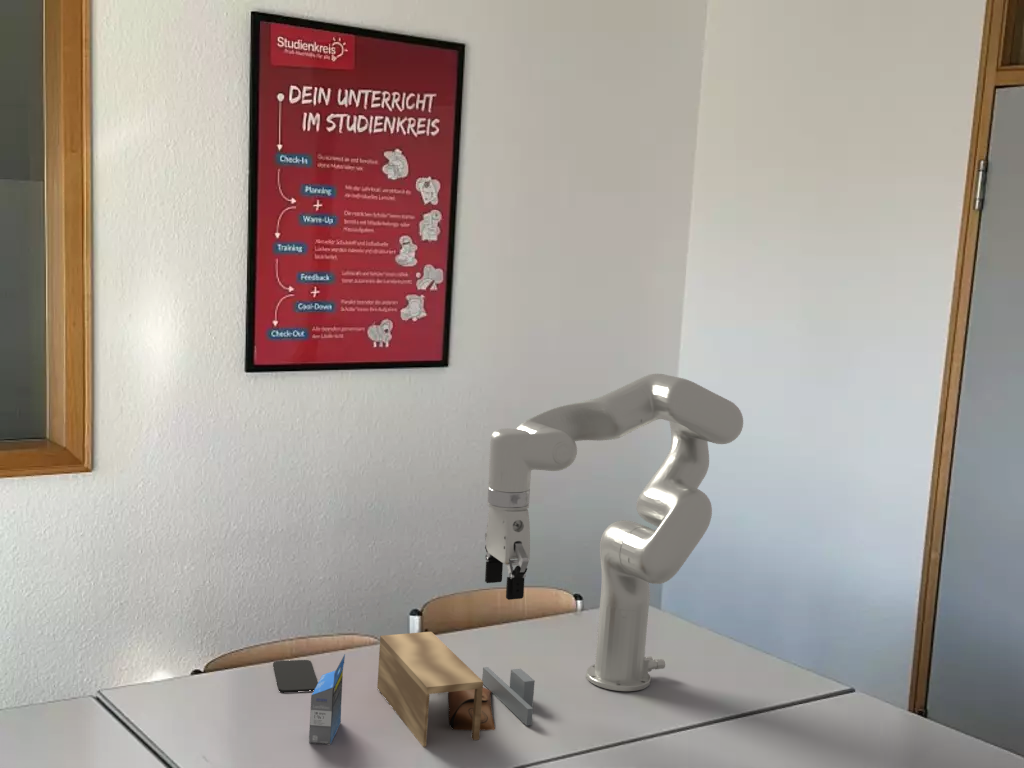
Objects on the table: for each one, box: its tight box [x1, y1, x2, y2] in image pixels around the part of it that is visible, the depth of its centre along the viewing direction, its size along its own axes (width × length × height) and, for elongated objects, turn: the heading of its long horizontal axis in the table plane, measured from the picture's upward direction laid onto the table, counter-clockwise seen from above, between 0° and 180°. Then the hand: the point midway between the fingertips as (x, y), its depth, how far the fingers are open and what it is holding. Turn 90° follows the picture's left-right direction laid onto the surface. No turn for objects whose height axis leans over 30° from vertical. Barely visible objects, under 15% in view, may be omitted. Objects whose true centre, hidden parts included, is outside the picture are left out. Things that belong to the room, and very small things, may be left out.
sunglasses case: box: [447, 687, 496, 731], centre depth 200 cm, size 18×7×7 cm, turn 5°
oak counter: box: [376, 631, 484, 748], centre depth 196 cm, size 10×25×10 cm, turn 24°
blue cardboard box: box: [308, 653, 346, 745], centre depth 185 cm, size 9×4×12 cm, turn 178°
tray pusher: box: [481, 666, 536, 727], centre depth 204 cm, size 4×20×5 cm, turn 24°
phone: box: [272, 659, 319, 694], centre depth 209 cm, size 7×1×15 cm
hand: (503, 590), depth 202 cm, fingers open, 9 cm apart
